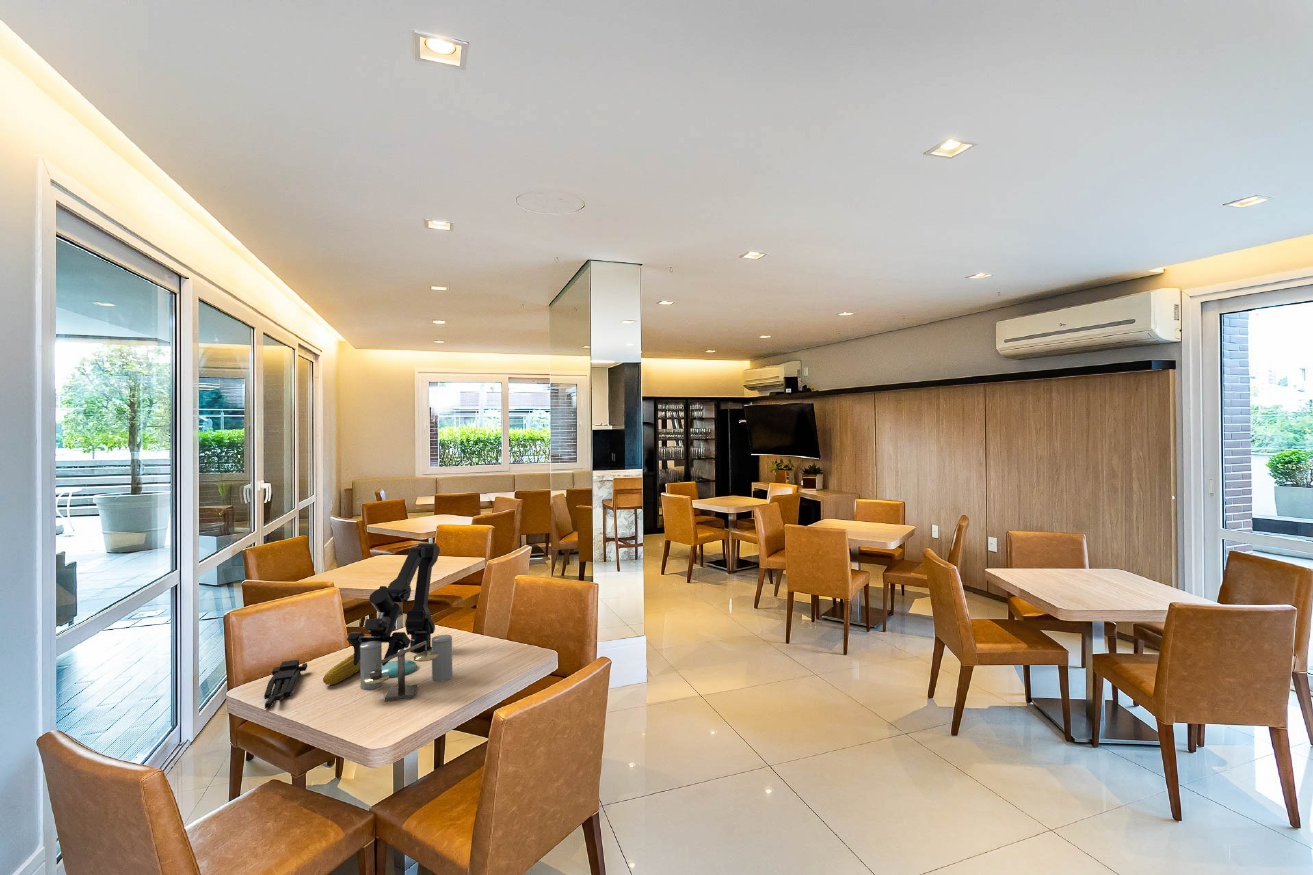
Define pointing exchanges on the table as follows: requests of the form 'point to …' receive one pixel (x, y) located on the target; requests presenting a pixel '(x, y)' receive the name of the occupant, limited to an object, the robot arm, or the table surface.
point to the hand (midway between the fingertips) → (368, 665)
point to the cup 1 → (369, 661)
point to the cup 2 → (442, 658)
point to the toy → (283, 681)
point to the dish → (392, 668)
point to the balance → (399, 674)
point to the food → (341, 671)
